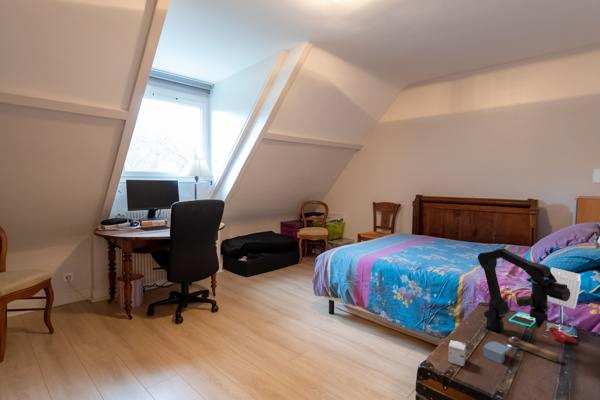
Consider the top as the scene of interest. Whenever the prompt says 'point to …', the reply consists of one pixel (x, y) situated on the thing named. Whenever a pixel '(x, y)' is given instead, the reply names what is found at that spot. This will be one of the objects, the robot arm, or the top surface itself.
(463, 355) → the skincare box
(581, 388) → the top surface
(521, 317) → the handheld game console
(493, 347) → the block
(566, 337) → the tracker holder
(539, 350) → the link
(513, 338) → the pintle
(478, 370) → the top surface
